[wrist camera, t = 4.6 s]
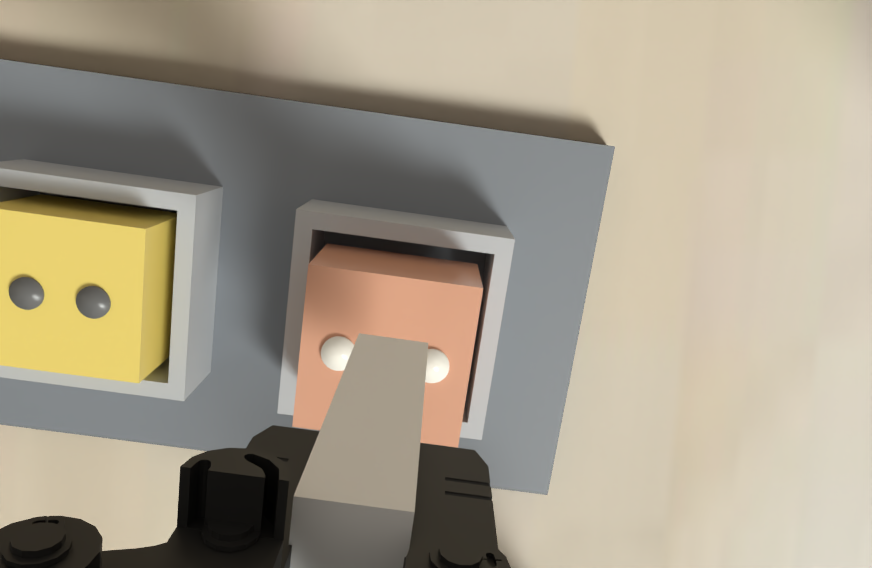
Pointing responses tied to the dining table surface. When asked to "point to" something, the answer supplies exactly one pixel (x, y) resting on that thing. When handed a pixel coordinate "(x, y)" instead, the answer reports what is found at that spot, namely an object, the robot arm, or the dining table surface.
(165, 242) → the tile mustard
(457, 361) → the tile terracotta
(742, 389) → the dining table surface
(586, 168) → the console
